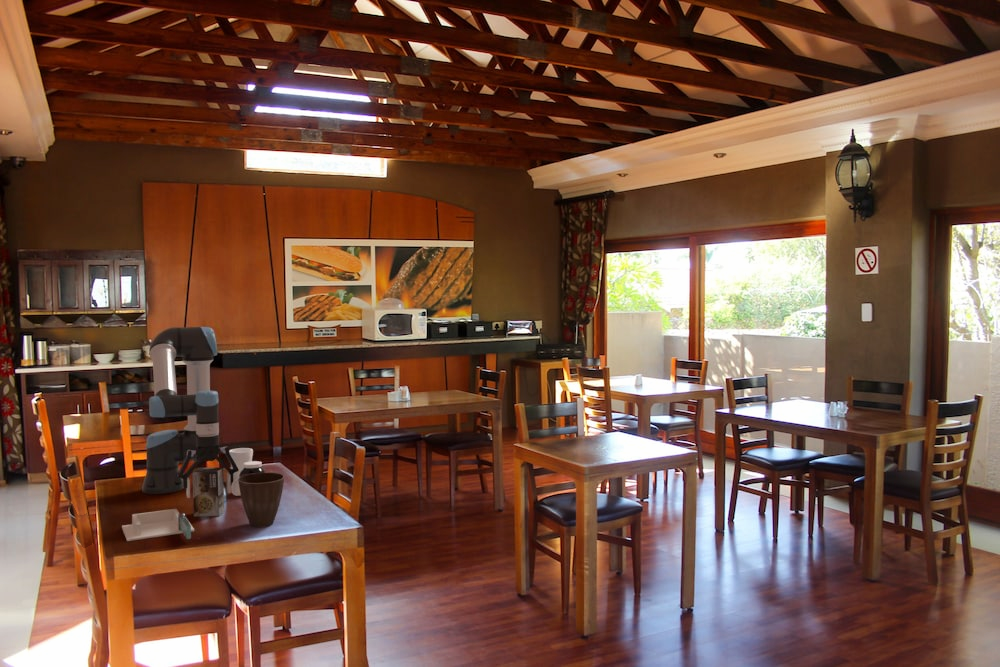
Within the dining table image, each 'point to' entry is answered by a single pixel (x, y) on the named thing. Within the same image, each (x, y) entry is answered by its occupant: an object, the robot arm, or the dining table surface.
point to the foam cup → (240, 458)
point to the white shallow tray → (153, 525)
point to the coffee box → (208, 491)
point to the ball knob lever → (184, 525)
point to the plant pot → (261, 497)
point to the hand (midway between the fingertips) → (208, 494)
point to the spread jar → (248, 469)
